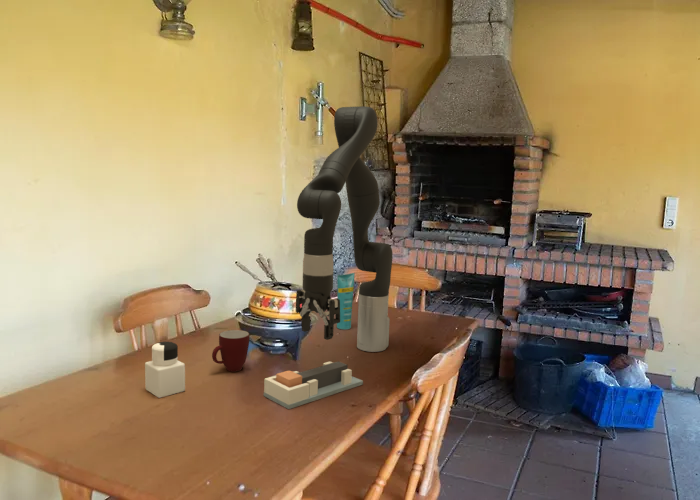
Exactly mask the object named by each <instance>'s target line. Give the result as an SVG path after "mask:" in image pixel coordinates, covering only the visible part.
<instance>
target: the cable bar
mask: <svg viewBox="0 0 700 500" xmlns="http://www.w3.org/2000/svg"><path fill="white" fill-rule="evenodd" d="M348 366H349V365H348V364H346V363H344V362H341V361H339V360H338V361H335V362H333V363H331V364H327V365H324V366H323V365H321V366H318V367H314V368H310V369H306V370H303V371H300V372H299V373H294V371H291V370H286V371H285V370H284V371H282V372H278V373H276V374H275V376H276V381H277V382H279V383H281V384H283V385H285V386H287V387H289V388H291V387H294V386H297V385H301V384H304V383H307V381H310V380H313V379H316V380H318V389H319V388H322V387H325V386H328V385H331V384H335V383H338V382H341V372H342V371H343V370H346V369H348Z"/></svg>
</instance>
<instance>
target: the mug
mask: <svg viewBox="0 0 700 500" xmlns="http://www.w3.org/2000/svg"><path fill="white" fill-rule="evenodd" d="M249 346H250V333H249V332H248V331H246V330H241V329H230V330H223V331H222V332H220V333H219V335H218V345H217V346H216V347H214V348H213V350H212V354H211V356H212V361H213V362H214V363H216V364H217V365H218V364H219V365H224V367H225V369H226V370H227V372H232V373H233V372H234V373H235V372H240V371H241V370H242V369H243V366H244V365H245V363H246V360H247V357H248V351H249ZM219 351H220V356H221V360H218V358H217V355H218V352H219Z"/></svg>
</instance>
